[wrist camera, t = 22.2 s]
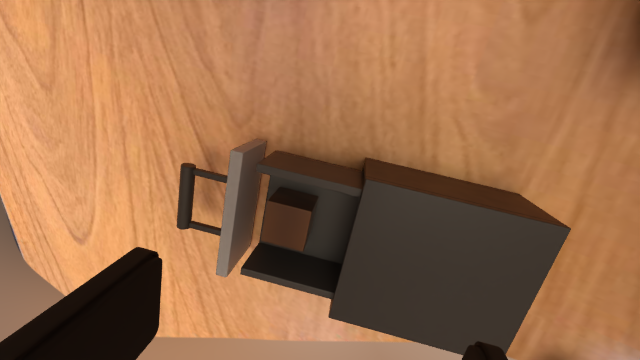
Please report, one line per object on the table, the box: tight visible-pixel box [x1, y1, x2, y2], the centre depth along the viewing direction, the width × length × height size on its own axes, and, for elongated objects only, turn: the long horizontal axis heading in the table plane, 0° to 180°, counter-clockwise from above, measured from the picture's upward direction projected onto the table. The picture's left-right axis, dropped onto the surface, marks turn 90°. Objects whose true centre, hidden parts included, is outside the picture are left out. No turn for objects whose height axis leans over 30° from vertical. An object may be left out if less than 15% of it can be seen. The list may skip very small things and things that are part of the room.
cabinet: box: [329, 158, 571, 355], centre depth 31 cm, size 17×15×9 cm
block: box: [261, 187, 319, 252], centre depth 32 cm, size 4×4×4 cm
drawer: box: [177, 139, 364, 299], centre depth 32 cm, size 21×13×7 cm, turn 78°
